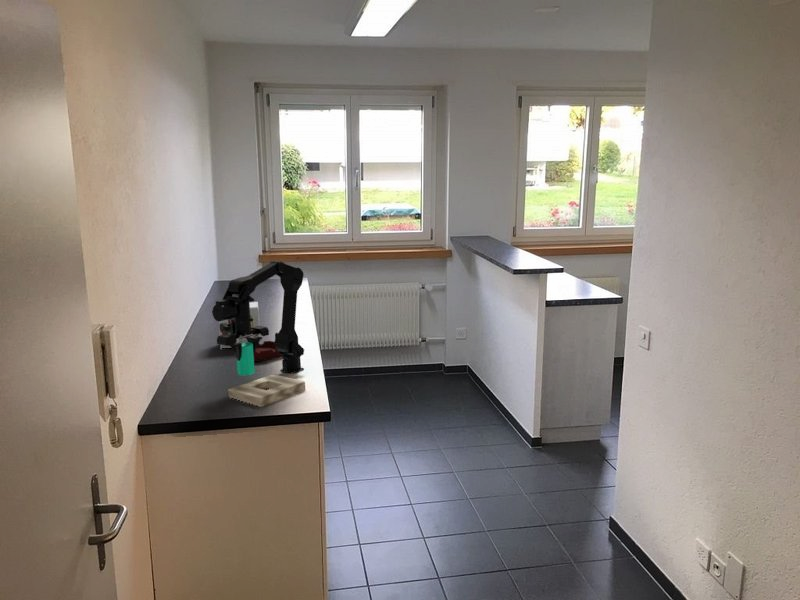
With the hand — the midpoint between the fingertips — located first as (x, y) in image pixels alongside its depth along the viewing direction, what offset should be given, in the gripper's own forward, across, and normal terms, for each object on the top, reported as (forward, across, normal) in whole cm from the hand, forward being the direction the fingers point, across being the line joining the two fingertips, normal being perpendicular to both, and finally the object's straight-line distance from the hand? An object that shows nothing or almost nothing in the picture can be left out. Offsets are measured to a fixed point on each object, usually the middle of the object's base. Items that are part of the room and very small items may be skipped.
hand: (245, 359), depth 228 cm
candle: (+5, 0, 0) cm, 5 cm away
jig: (+10, +2, +12) cm, 16 cm away
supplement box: (+10, -38, -50) cm, 63 cm away
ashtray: (+11, -30, -24) cm, 40 cm away
